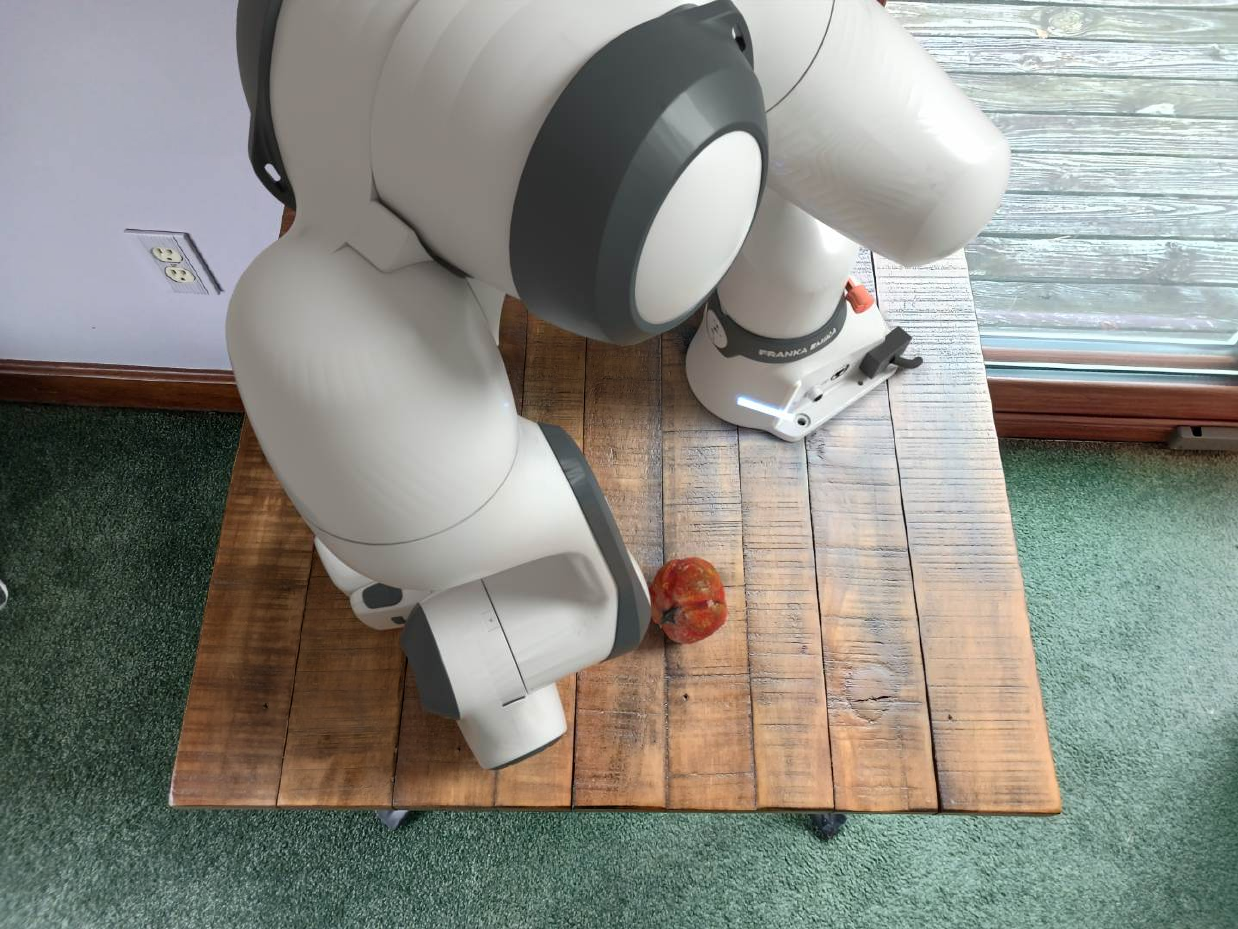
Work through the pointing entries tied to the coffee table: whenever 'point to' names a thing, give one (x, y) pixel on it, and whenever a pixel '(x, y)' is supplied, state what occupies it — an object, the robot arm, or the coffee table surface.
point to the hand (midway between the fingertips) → (405, 449)
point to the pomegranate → (688, 600)
